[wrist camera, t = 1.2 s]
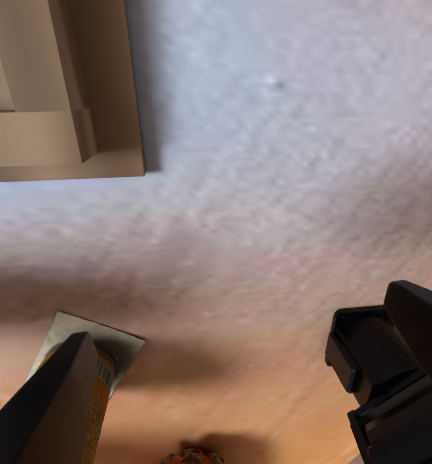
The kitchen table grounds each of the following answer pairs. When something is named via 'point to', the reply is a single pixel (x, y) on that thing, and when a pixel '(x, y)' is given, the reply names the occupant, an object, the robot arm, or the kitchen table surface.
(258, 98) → the kitchen table surface
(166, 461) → the dragon fruit
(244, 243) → the kitchen table surface
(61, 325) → the condiment
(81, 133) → the block
